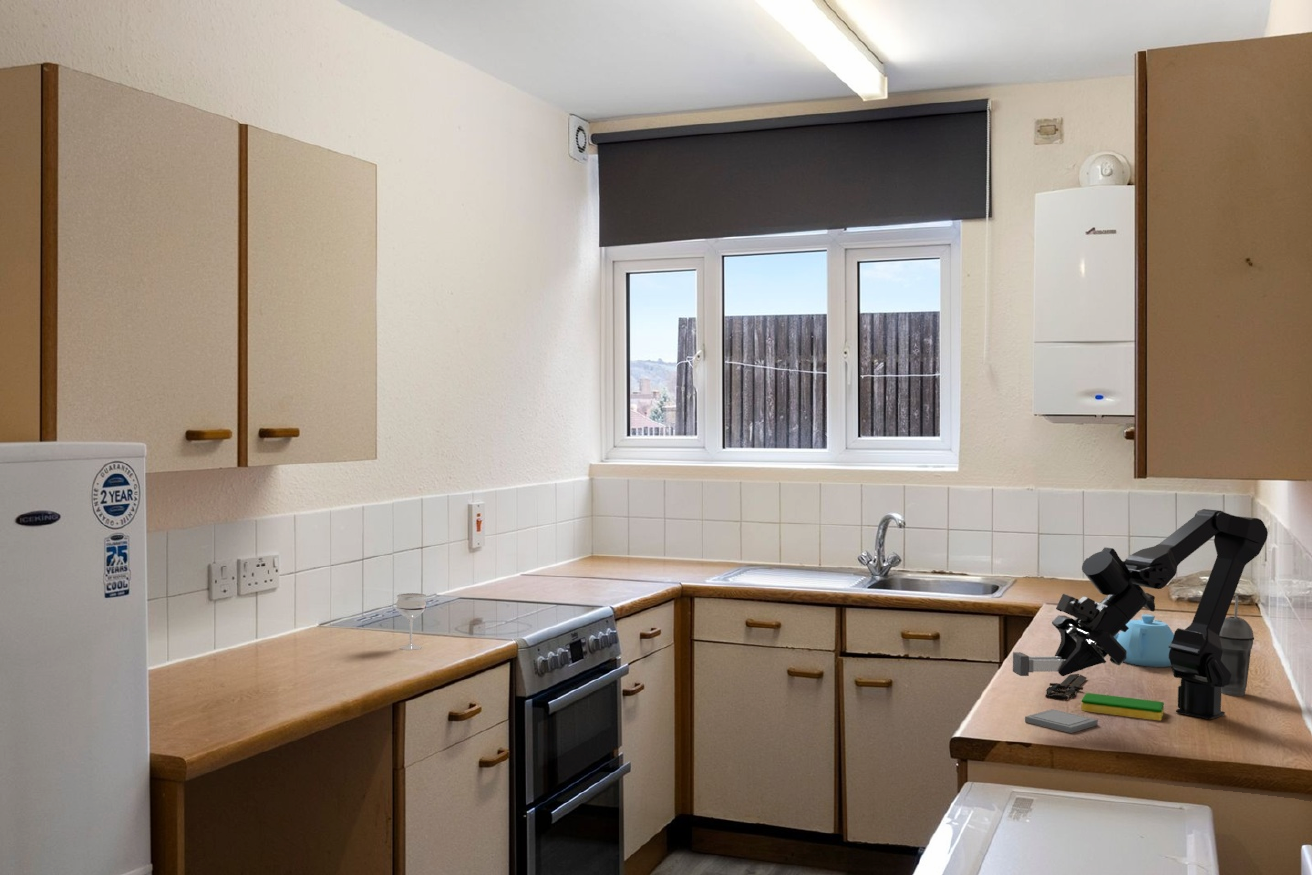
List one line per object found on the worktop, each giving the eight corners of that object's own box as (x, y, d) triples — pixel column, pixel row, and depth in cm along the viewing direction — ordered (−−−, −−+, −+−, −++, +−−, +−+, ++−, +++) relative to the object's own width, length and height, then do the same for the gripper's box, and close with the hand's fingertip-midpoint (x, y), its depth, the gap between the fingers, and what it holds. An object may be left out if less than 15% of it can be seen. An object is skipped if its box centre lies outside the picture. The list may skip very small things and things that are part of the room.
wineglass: (397, 644, 263) (398, 593, 263) (427, 644, 264) (427, 593, 263) (393, 650, 256) (394, 597, 256) (423, 650, 257) (424, 597, 257)
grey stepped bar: (1021, 656, 201) (1083, 656, 202) (1012, 652, 205) (1074, 651, 206) (1020, 676, 201) (1083, 675, 202) (1012, 671, 205) (1073, 671, 206)
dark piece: (1071, 676, 245) (1071, 670, 245) (1102, 681, 241) (1103, 674, 241) (1035, 698, 224) (1035, 691, 224) (1069, 703, 221) (1069, 696, 221)
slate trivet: (1097, 725, 203) (1097, 719, 203) (1070, 733, 197) (1070, 727, 197) (1052, 714, 210) (1052, 708, 210) (1024, 721, 204) (1025, 716, 204)
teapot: (1098, 654, 267) (1099, 609, 267) (1159, 654, 269) (1160, 609, 268) (1132, 669, 252) (1133, 620, 252) (1196, 668, 253) (1197, 620, 253)
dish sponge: (1161, 722, 207) (1161, 709, 207) (1081, 712, 214) (1081, 699, 214) (1163, 714, 213) (1163, 701, 213) (1085, 704, 220) (1086, 692, 220)
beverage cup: (1247, 690, 233) (1249, 593, 232) (1257, 698, 226) (1260, 598, 225) (1208, 687, 234) (1211, 591, 234) (1217, 695, 227) (1220, 596, 227)
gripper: (1063, 572, 213) (1005, 630, 212) (1110, 586, 194) (1047, 651, 194) (1102, 613, 214) (1045, 672, 213) (1153, 632, 195) (1090, 696, 194)
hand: (1055, 671), depth 203 cm, fingers closed on grey stepped bar, 3 cm apart
